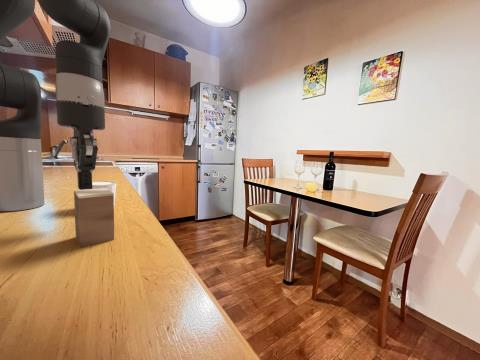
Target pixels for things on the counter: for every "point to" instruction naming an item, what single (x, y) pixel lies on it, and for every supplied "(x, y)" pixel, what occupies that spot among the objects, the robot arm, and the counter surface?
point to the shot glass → (105, 186)
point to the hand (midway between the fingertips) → (85, 189)
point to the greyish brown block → (94, 216)
